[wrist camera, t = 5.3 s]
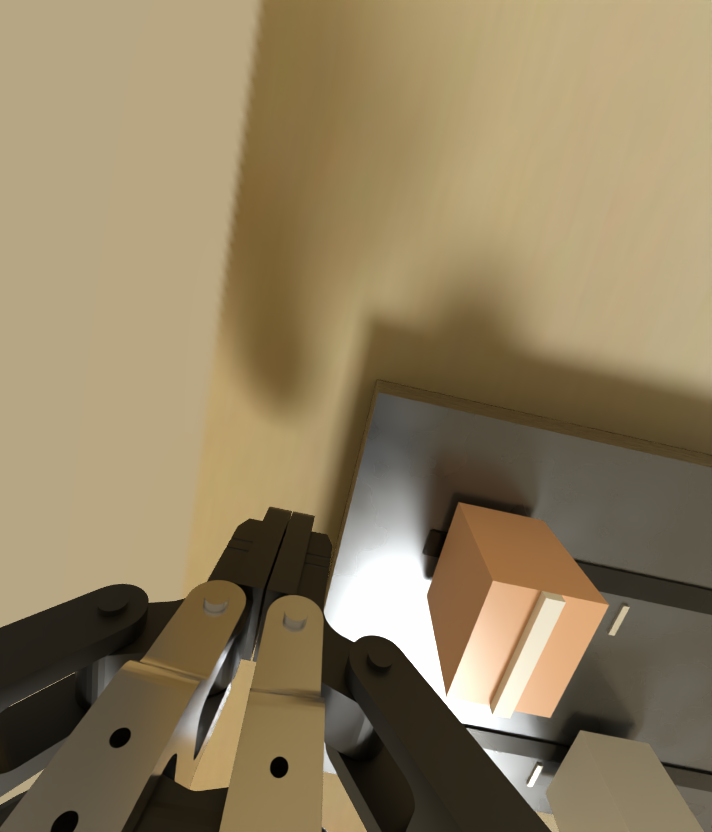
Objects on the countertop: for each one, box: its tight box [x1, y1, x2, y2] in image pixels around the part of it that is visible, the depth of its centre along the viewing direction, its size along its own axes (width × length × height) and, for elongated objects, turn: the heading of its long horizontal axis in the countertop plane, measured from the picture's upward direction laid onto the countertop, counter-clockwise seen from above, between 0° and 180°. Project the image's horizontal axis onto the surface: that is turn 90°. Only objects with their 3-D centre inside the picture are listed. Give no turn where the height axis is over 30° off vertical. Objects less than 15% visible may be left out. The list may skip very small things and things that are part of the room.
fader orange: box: [426, 502, 609, 718], centre depth 12 cm, size 4×3×4 cm
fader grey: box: [545, 730, 704, 832], centre depth 15 cm, size 4×3×4 cm
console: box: [323, 380, 712, 832], centre depth 17 cm, size 18×22×2 cm
